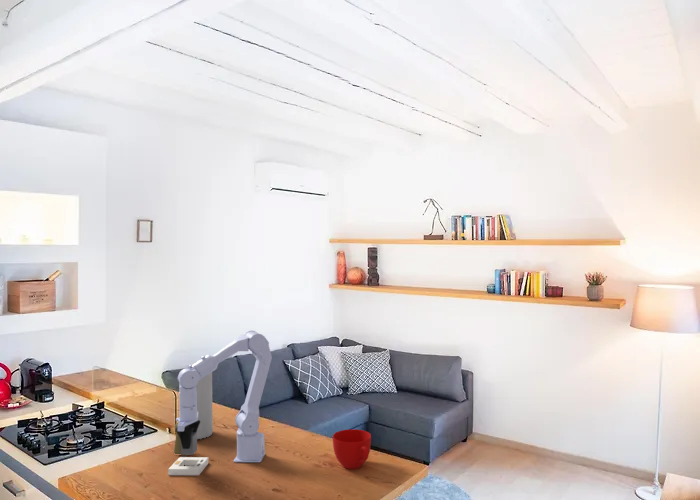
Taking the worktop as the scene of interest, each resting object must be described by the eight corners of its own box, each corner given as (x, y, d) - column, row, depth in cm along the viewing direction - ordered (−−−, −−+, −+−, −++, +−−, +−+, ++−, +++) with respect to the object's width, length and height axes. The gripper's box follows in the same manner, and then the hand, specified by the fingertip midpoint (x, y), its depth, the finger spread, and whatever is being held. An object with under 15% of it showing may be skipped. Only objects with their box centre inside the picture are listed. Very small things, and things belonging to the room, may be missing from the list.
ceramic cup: (349, 480, 169) (348, 449, 169) (326, 462, 184) (326, 433, 184) (384, 472, 175) (384, 441, 175) (359, 455, 190) (359, 426, 190)
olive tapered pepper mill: (186, 456, 191) (185, 425, 191) (170, 455, 192) (170, 424, 192) (194, 450, 197) (193, 420, 197) (179, 448, 198) (178, 419, 198)
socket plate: (208, 463, 185) (208, 456, 185) (198, 475, 175) (198, 468, 175) (179, 462, 185) (179, 456, 185) (168, 475, 175) (168, 468, 175)
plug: (197, 450, 182) (196, 430, 182) (193, 454, 178) (192, 434, 178) (185, 450, 182) (185, 430, 182) (181, 454, 178) (180, 434, 178)
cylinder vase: (219, 433, 215) (218, 370, 215) (195, 443, 204) (194, 377, 204) (197, 428, 221) (197, 367, 221) (173, 437, 211) (172, 373, 211)
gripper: (184, 399, 187) (184, 438, 187) (167, 411, 173) (168, 454, 173) (204, 399, 187) (204, 438, 187) (189, 411, 172) (190, 454, 172)
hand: (188, 445), depth 180 cm, fingers closed on plug, 4 cm apart
